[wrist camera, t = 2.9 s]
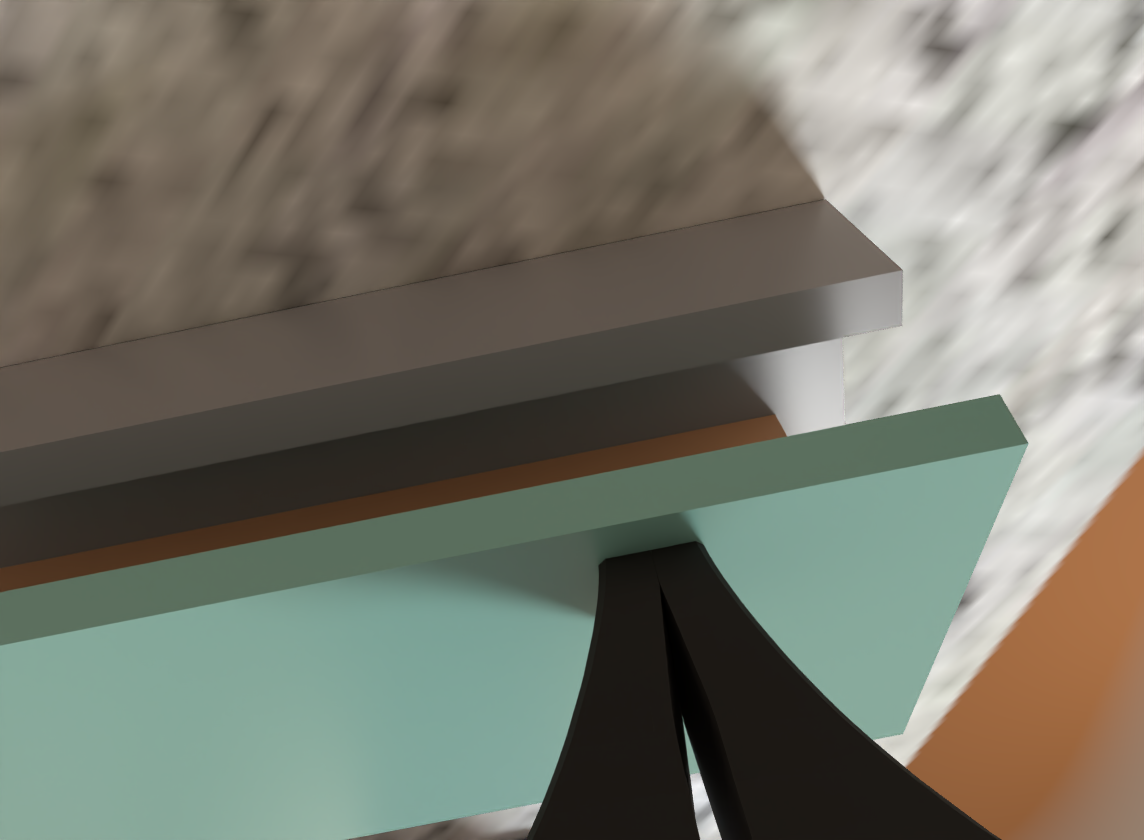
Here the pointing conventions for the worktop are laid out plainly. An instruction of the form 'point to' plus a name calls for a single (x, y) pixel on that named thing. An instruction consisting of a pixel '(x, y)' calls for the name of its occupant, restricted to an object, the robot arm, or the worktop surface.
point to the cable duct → (434, 392)
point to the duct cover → (470, 635)
